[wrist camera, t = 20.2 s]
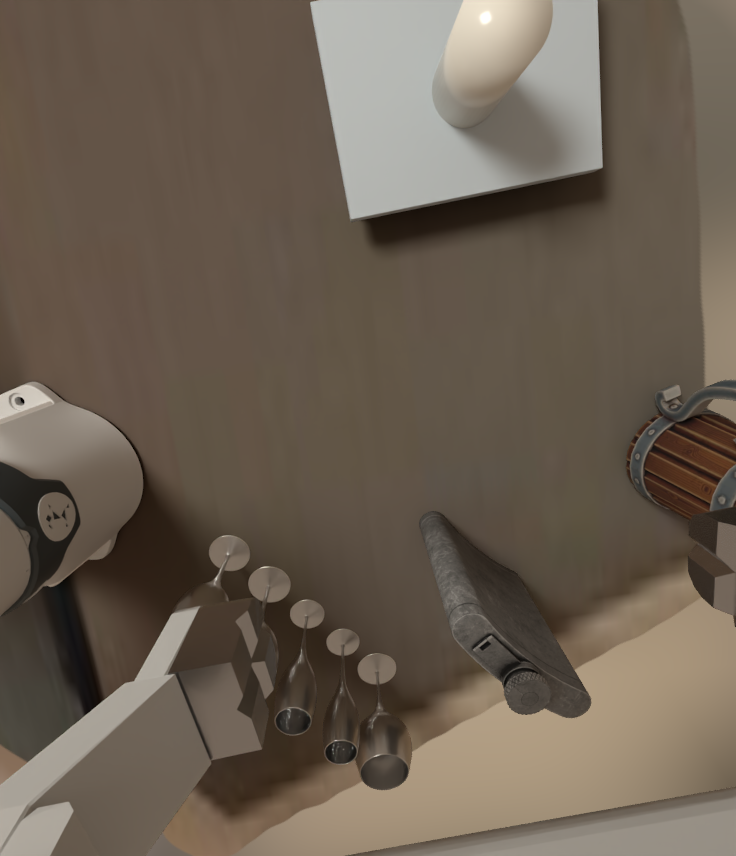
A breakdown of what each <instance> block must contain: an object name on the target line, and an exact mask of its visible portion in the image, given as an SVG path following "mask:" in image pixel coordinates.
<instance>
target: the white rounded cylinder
mask: <svg viewBox="0 0 736 856" xmlns="http://www.w3.org/2000/svg"><path fill="white" fill-rule="evenodd" d="M552 17H553V3H552V0H463V3H462V5H461V8H460V10H459V13H458V15H457V18H456V21H455V23H454V26H453V28H452V31H451V33H450V36H449V38H448V41H447V44H446V46H445V49H444V51H443V54H442V56H441V59H440V62H439V64H438V67H437V69H436V72H435V74H434V78H433V82H432V98H433V102H434V106H435V108H436V110H437V112H438V114H439V115H440V116H441V118H442V119H443V120H444V121H446V122H447V123H448V124H450V125H452V126H455V127H458V128H470V127H473V126H476V125H478V124H480V123H481V122H483V121H484V120H485V119H486V118H487V117H488V116H489V115H490V114H491V112H492V111H493V110H494V108H495V107H496V106H497V105H498V103H499V102H500V101H501V100H502V98H503V97H504V96H505V95H506V93H507V92H508V91H509V89H510V88H511V87H512V86H513V84H514V83H515V82H516V81H517V79H518V78H519V77H520V75H521V74H522V73H523V72H524V70H525V69H526V68H527V67H528V65H529V64H530V63H531V62H532V60H533V59H534V58H535V56H536V55H537V54H538V53H539V51H540V50H541V49H542V47H543V45H544V43H545V42H546V39H547V37H548V35H549V32H550V29H551V24H552Z"/></svg>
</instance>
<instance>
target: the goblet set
mask: <svg viewBox="0 0 736 856" xmlns="http://www.w3.org/2000/svg"><path fill="white" fill-rule="evenodd" d="M209 556H210V559H211V561H212V562H213V563H214V565H216V566H217V567H218V568H220V570H219V572H218V573H217V575H216V576H215V577H214V579H213V580H212V581H210V582H206V583H202V584H199V585H196V586H194V587H193V588H191V589H189V590H188V591H187V592H186V593H185V594H184V595H183V596H182V597H181V598H180V599H179V601H178V602H177V603H176V605H175V607H174V608H173V610H172V613H171V615H172V614H173V613H174V612H176V611H178V610H182V609H187V608H192V607H197V606H204V605H209V604H215V603H221V602H227V601H229V599H228V596H227V594H226V592H225V590H224V589H223V588H222V586H221V580H222V576H223V573H224V570H226V571H236V570H239V569H241V568H243V567H244V566H245V565H246V564H247V563H248V561H249V559H250V549H249V547H248V545H247V544H246V542H245V541H243V540H242V539H241V538H239V537H236V536H232V535H224V536H221V537H218V538H217V539H215V540H214V541H213V542H212V543H211V545H210V548H209ZM248 587H249V590H250V592H251V594H252V595H253V596H254V597H256V598H257V599H259V600H261V601H263V602H262V605H261V606H262V609H263V612H264V615H265V609H266V604H267V602H277V601H280V600H282V599H283V598H285V597H286V596H287V594H288V593H289V591H290V588H291V582H290V579H289V577H288V575H287V574H286V573H285V572H284V571H283V570H281V569H279V568H276V567H272V566H266V567H261V568H259V569H257V570H255V571H254V572H253V573H252V574H251V576H250V578H249V581H248ZM171 615H170V616H171ZM290 618H291V620H292V622H293V623H294V624H295V625H297V626H299V627H301V628H304V631H303V637H302V641H301V645H300V649H299V652H298V654H297V656H296V657H295V659H294V660H293V662H292V663H291V664H290V665H289V666H288V668H287V669H286V670H285V672H284V674H283V675H282V678H281V680H280V682H279V685H278V688H277V692H276V697H275V710H274V717H275V725H276V727H277V729H278V730H279V731H280V732H282V733H284V734H287V735H299V734H302V733H304V732H306V731H307V730H308V729H309V728H310V726H311V723H312V720H313V716H314V712H315V708H316V701H317V685H316V679H315V675H314V672H313V670H312V667H311V665H310V663H309V661H308V659H307V655H306V632H307V628H313V627H316V626H318V625H319V624H320V623H321V622H322V621H323V619H324V609H323V607H322V606H321V605H320V604H319V603H317V602H316V601H313V600H301V601H299V602H297V603H295V604H294V605H293V606H292V608H291V610H290ZM262 628H263V629H264V630H266V631H267V632H268V633H270V634H271V637H272V640H273V643H274V648H275V654H276V673H277V669H278V662H279V650H278V643H277V640H276V637H275V635H274V633H273V631H272V630H271V629H270V627H269V626H268V625H267V624H266V623H265V620H264V619H263V623H262ZM359 643H360V641H359V637H358V635H357V634H356V633H355V632H354V631H352V630H349V629H337V630H335V631H333V632H332V633H330V634H329V636H328V637H327V641H326V644H327V647H328V649H329V650H330V651H331V652H332V653H334V654H336V655H339V656H341V669H340V679H339V684H338V687H337V689H336V692H335V694H334V696H333V697H332V699H331V701H330V703H329V705H328V707H327V710H326V713H325V717H324V722H323V747H324V754H325V757H326V759H327V760H328V761H329V762H331V763H333V764H337V765H344V764H348V763H350V762H352V761H353V760H354V759H355V761H356V765H357V768H358V771H359V774H360V777H361V779H362V781H363V782H364V783H365V784H366V785H367V786H369V787H371V788H373V789H377V790H389V789H392V788H395V787H397V786H399V785H401V784H402V783H403V782H404V781H405V780H406V778H407V777H408V773H409V769H410V763H411V757H412V743H411V738H410V734H409V732H408V730H407V728H406V726H405V725H404V723H403V722H402V721H401V720H400V719H399V718H397V717H396V716H394V715H393V714H391V713H388V712H387V711H386V710H385V708H384V706H383V703H382V699H381V693H380V684H383V683H385V682H387V681H389V680H390V679H392V678H393V676H394V675H395V673H396V663H395V661H394V660H393V659H392V658H391V657H390V656H388V655H386V654H382V653H374V654H370V655H367V656H366V657H364V658H363V659H362V660H361V661H360V662H359V664H358V669H357V670H358V674H359V676H360V678H361V679H362V680H363V681H365V682H367V683H370V684H377V703H376V708H375V711H374V712H373V713H372V714H371V715H370V716H368V717H367V718H366V719H365V720H364V721H363V722H362V723H361V724H360V721H359V715H358V711H357V708H356V706H355V703H354V701H353V699H352V697H351V695H350V693H349V691H348V689H347V686H346V681H345V669H344V656H346V655H350V654H352V653H353V652H355V651H356V650H357V648H358V647H359Z"/></svg>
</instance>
